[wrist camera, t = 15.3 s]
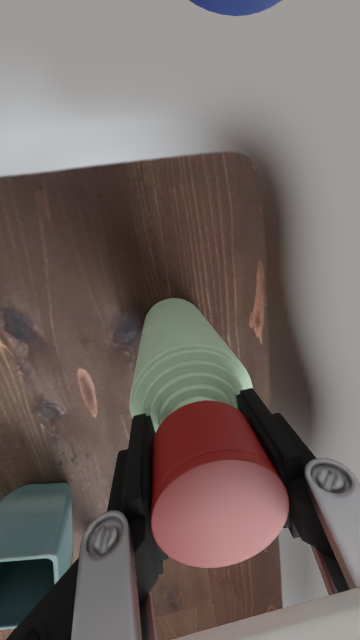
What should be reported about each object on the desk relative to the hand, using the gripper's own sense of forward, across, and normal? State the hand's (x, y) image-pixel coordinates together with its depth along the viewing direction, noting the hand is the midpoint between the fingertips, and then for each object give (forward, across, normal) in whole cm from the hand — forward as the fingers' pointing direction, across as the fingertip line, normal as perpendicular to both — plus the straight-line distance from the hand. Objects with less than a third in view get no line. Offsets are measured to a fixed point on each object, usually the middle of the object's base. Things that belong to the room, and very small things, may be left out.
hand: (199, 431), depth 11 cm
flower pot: (+16, +19, +18) cm, 30 cm away
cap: (-1, 0, 0) cm, 1 cm away
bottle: (+16, 0, 0) cm, 16 cm away
